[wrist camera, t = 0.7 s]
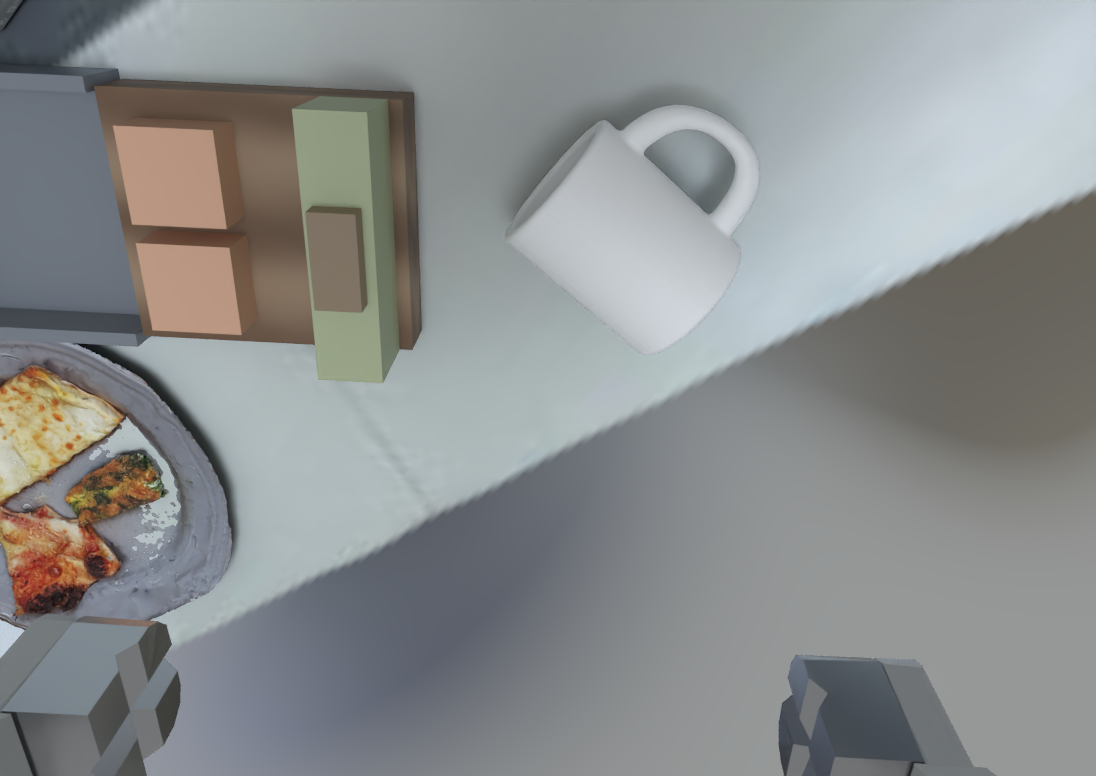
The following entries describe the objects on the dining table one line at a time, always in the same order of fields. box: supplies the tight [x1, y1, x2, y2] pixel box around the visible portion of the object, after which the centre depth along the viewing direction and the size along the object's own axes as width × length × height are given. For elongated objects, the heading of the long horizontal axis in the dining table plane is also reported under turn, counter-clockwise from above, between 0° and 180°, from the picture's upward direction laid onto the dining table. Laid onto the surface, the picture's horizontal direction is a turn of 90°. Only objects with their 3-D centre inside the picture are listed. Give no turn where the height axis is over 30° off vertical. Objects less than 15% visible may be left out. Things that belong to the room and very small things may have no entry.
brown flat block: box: [94, 79, 422, 350], centre depth 47 cm, size 14×16×3 cm
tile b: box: [136, 230, 258, 335], centre depth 45 cm, size 5×5×2 cm
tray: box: [0, 64, 150, 347], centre depth 47 cm, size 15×13×4 cm
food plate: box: [0, 339, 233, 630], centre depth 56 cm, size 25×23×4 cm
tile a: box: [113, 118, 245, 229], centre depth 43 cm, size 5×5×2 cm
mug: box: [505, 105, 760, 355], centre depth 43 cm, size 12×10×8 cm
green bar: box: [292, 96, 400, 383], centre depth 43 cm, size 14×4×6 cm, turn 178°
